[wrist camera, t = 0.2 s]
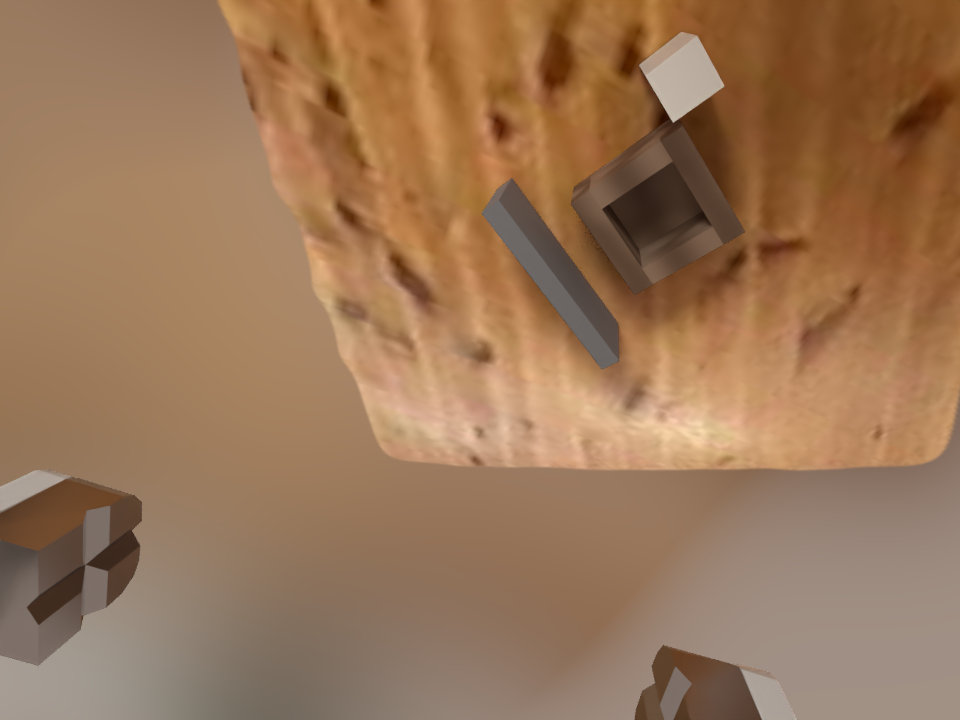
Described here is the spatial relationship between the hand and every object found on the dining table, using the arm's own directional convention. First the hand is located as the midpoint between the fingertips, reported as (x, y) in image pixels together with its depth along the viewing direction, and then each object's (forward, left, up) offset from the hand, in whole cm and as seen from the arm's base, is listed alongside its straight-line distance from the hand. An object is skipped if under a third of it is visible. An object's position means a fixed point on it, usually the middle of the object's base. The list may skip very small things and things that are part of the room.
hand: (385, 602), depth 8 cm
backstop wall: (+9, +12, -51) cm, 53 cm away
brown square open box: (-2, +12, -52) cm, 53 cm away
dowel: (-9, +3, -51) cm, 52 cm away
